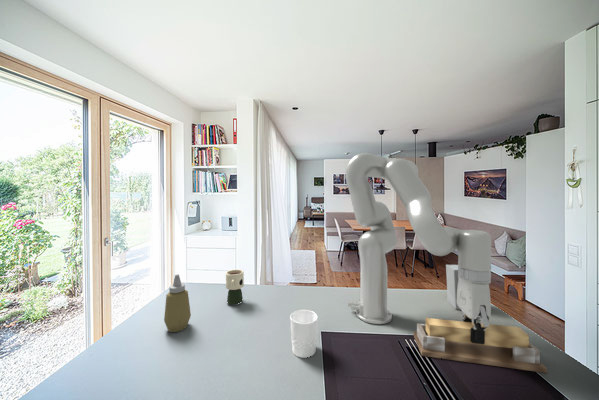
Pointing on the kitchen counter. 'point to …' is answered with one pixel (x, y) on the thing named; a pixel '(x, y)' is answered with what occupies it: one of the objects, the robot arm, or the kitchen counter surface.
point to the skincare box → (452, 284)
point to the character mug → (234, 285)
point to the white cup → (304, 332)
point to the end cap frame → (478, 352)
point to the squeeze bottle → (177, 307)
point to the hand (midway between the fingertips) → (473, 337)
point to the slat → (462, 333)
